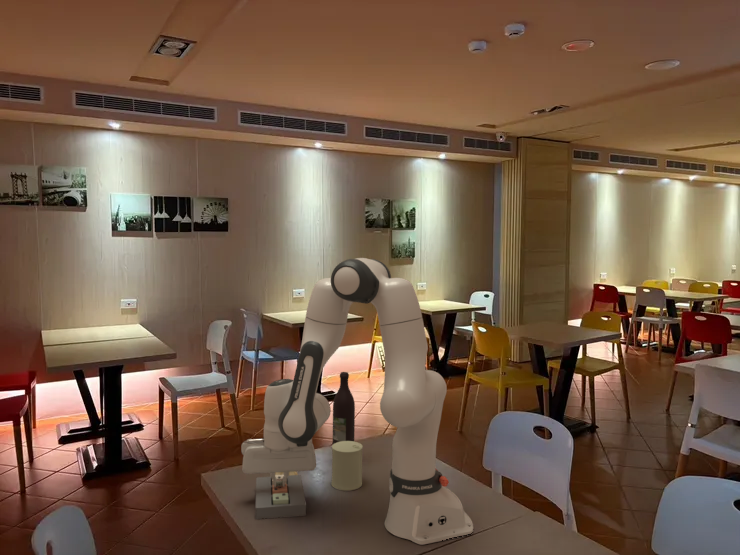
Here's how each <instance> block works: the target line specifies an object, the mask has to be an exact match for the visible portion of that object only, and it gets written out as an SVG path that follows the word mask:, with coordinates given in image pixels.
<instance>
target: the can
mask: <svg viewBox="0 0 740 555" xmlns="http://www.w3.org/2000/svg"><path fill="white" fill-rule="evenodd" d="M363 446H364V445H363V444H361V443H360V442H357V441H355V440H354V441H341V442H337V443H335V444H333V443H332V445H331V450H332V452H331V453H332V454H331V455H332V457H331V464H332V466H331V482H330V484H331V487H333V489H335V490H339V491H346V492H347V491H354V490H357V489H359V488H361V487H362V486H363V475H362V474H363V472H362V471H363Z"/></svg>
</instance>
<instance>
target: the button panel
mask: <svg viewBox="0 0 740 555" xmlns="http://www.w3.org/2000/svg"><path fill="white" fill-rule="evenodd" d="M286 480H287V493H288V504H279V505H273V495H272V478H271V477H270V476H258V477H256V478H255V520H262V518H264V519H265V518H267V519H277V518H278V517H280V518H291V517H303V516H305V517H306V516H307V504H306V496H305V490H304V485H303V478H302V474H298V475H289V476H288V477H287V479H286ZM278 519H279V518H278Z"/></svg>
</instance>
